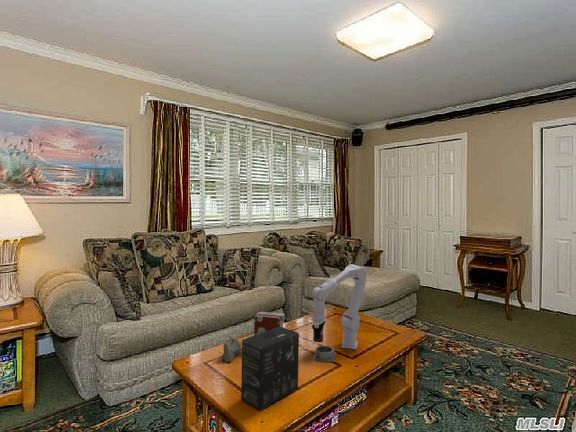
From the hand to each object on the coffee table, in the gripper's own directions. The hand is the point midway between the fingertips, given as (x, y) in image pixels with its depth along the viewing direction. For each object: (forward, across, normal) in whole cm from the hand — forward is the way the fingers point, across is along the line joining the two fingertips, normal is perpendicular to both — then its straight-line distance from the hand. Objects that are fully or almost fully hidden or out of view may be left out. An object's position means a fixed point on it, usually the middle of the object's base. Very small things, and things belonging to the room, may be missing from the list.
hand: (318, 336), depth 181 cm
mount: (+8, +4, +4) cm, 10 cm away
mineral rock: (+9, +17, -40) cm, 45 cm away
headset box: (+9, +43, -12) cm, 46 cm away
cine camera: (+9, +5, -23) cm, 25 cm away
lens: (+2, 0, 0) cm, 2 cm away
